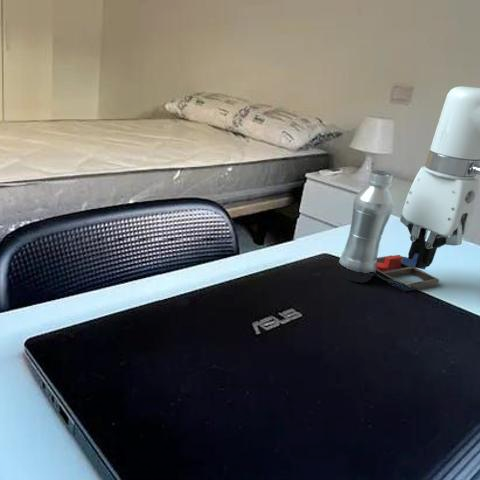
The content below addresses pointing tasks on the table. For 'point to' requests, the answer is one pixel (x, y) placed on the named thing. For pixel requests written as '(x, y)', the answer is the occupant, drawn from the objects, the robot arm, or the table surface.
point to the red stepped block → (390, 263)
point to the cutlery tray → (405, 270)
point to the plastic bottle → (368, 223)
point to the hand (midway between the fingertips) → (418, 263)
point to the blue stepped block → (411, 261)
